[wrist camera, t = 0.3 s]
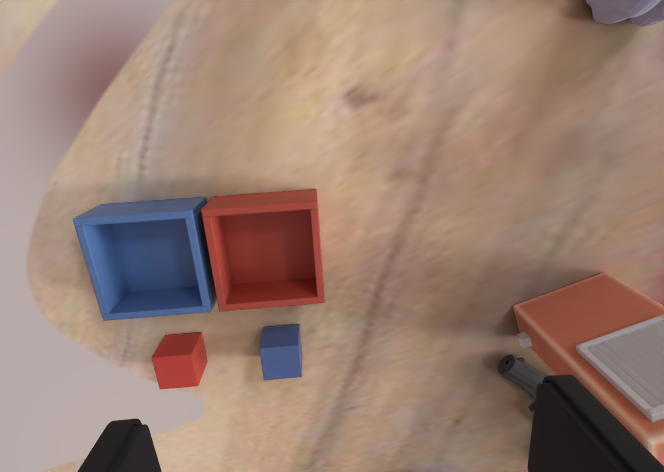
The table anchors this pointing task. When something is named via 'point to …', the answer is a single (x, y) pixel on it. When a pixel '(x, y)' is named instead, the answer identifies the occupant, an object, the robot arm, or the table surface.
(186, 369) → the red block
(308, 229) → the red bin
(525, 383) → the handgun
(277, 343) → the blue block
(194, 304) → the blue bin
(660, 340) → the control panel
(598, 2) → the toy
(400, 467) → the table surface
